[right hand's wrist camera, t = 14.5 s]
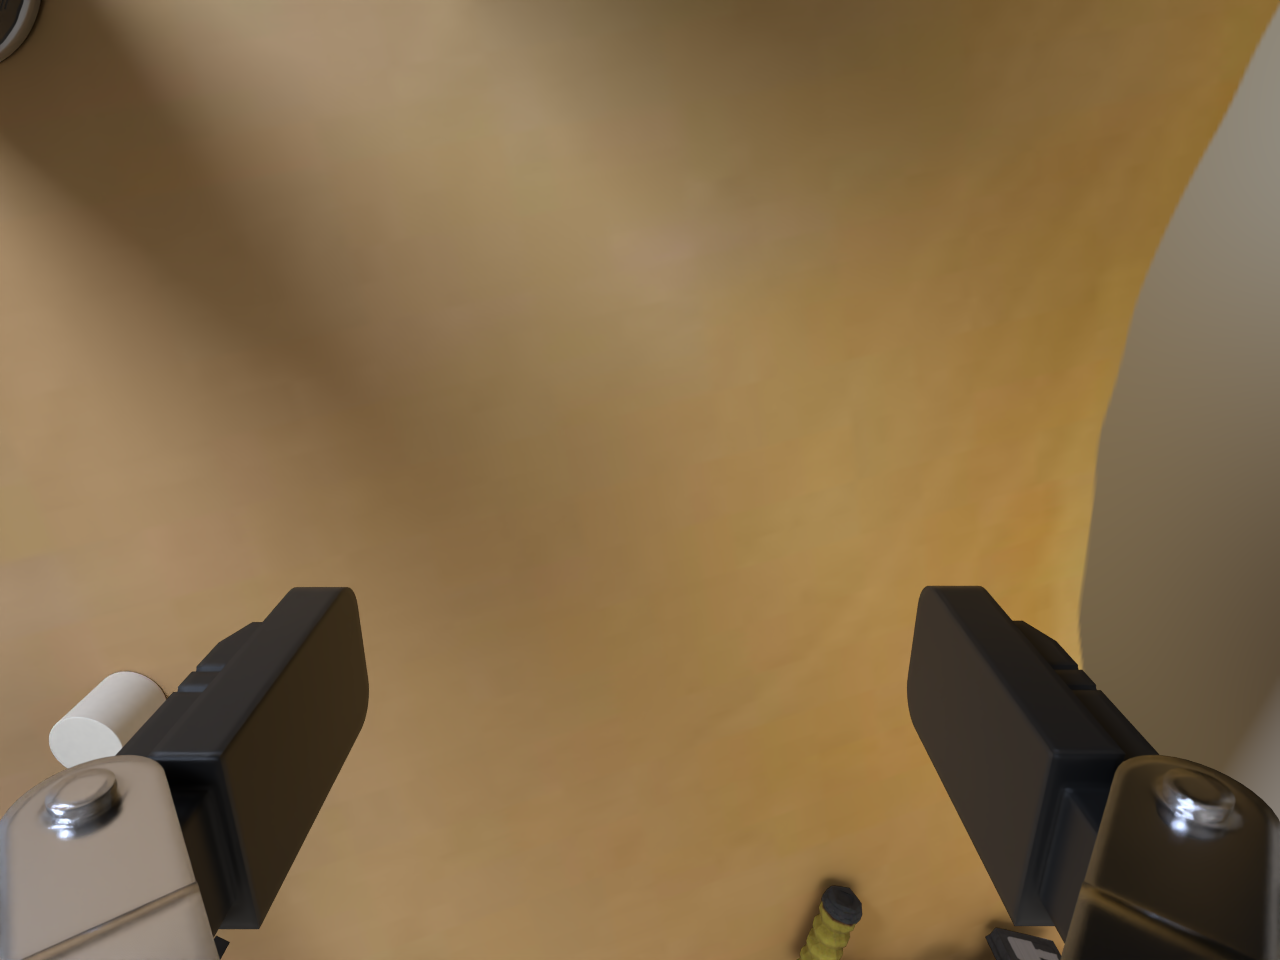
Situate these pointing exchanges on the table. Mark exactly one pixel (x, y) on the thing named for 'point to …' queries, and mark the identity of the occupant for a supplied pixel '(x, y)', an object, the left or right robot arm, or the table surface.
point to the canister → (105, 718)
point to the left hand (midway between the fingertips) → (86, 893)
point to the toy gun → (841, 910)
